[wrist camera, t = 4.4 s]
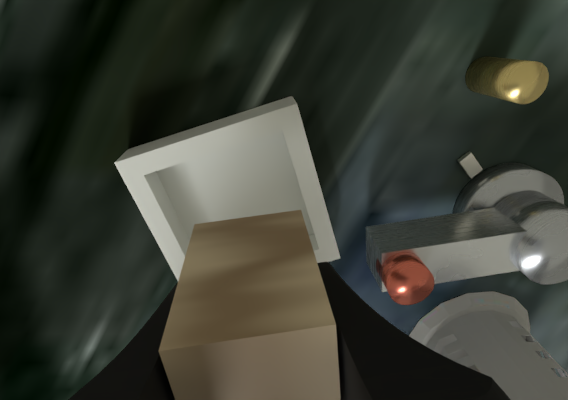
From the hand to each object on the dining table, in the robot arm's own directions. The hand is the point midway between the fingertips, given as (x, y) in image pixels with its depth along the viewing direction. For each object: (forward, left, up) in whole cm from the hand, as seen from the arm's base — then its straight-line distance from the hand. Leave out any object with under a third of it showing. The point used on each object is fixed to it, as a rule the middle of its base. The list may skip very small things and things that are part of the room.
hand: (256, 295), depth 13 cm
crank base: (+14, -3, -9) cm, 17 cm away
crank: (+11, -5, -7) cm, 14 cm away
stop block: (0, 0, -2) cm, 2 cm away
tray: (-1, 0, -9) cm, 9 cm away
